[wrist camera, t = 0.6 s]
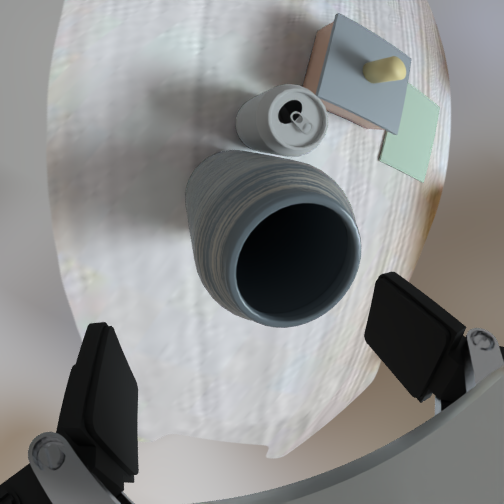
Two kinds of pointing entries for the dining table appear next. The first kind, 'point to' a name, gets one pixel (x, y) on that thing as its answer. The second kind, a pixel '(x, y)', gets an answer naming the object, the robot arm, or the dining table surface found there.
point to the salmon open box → (315, 72)
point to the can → (283, 121)
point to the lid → (364, 74)
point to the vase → (271, 237)
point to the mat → (412, 136)
